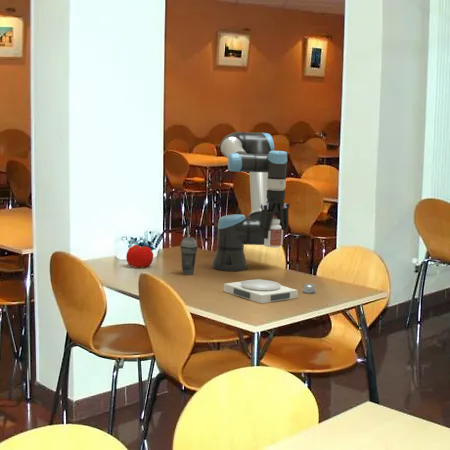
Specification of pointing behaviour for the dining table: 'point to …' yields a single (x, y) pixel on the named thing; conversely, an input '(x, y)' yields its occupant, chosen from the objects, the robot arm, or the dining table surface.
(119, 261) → the dining table surface
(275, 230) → the pill bottle
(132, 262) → the tomato
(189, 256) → the beverage cup
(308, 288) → the shiny grey dome
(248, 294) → the scale
